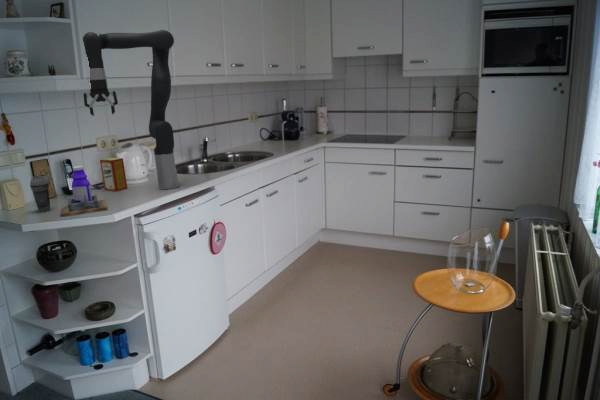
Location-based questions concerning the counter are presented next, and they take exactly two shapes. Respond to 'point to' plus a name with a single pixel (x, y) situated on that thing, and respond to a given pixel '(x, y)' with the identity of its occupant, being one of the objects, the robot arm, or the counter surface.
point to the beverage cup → (41, 192)
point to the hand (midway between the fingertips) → (103, 115)
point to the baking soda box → (113, 174)
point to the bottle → (81, 186)
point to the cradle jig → (83, 207)
